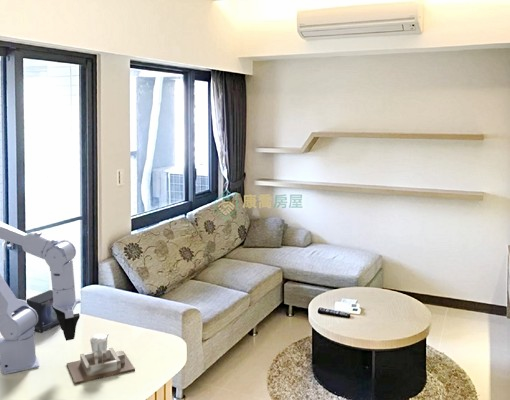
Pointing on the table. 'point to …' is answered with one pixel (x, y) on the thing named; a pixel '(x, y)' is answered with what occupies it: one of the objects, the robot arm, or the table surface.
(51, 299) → the small box
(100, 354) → the milkshake
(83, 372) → the pocket plate
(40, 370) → the table surface
